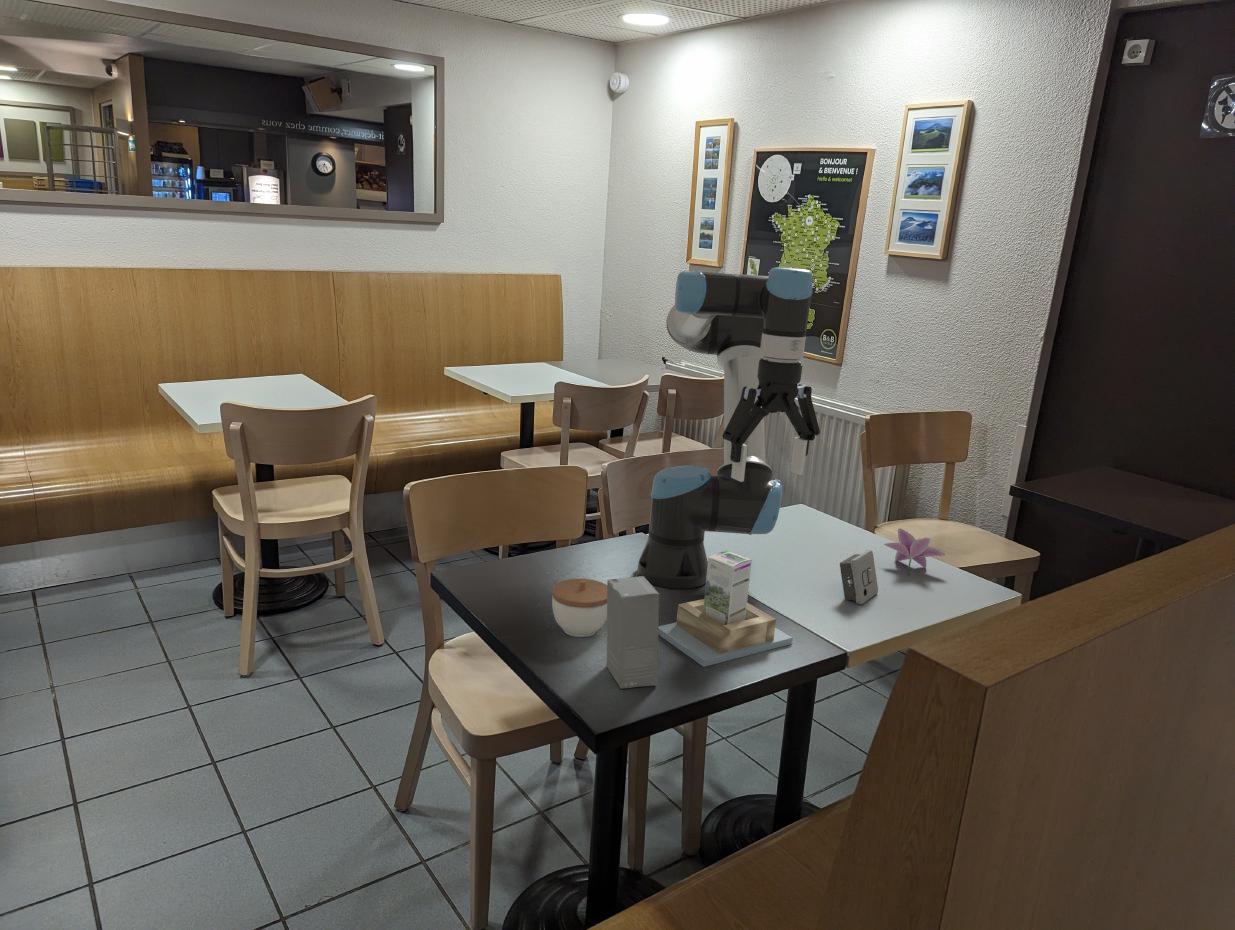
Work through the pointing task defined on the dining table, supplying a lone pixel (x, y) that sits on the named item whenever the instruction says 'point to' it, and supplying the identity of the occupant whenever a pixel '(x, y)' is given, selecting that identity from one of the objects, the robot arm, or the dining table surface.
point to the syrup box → (727, 587)
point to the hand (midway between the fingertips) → (767, 476)
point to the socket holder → (721, 634)
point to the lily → (913, 548)
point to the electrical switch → (859, 577)
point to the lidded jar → (580, 606)
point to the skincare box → (632, 631)
